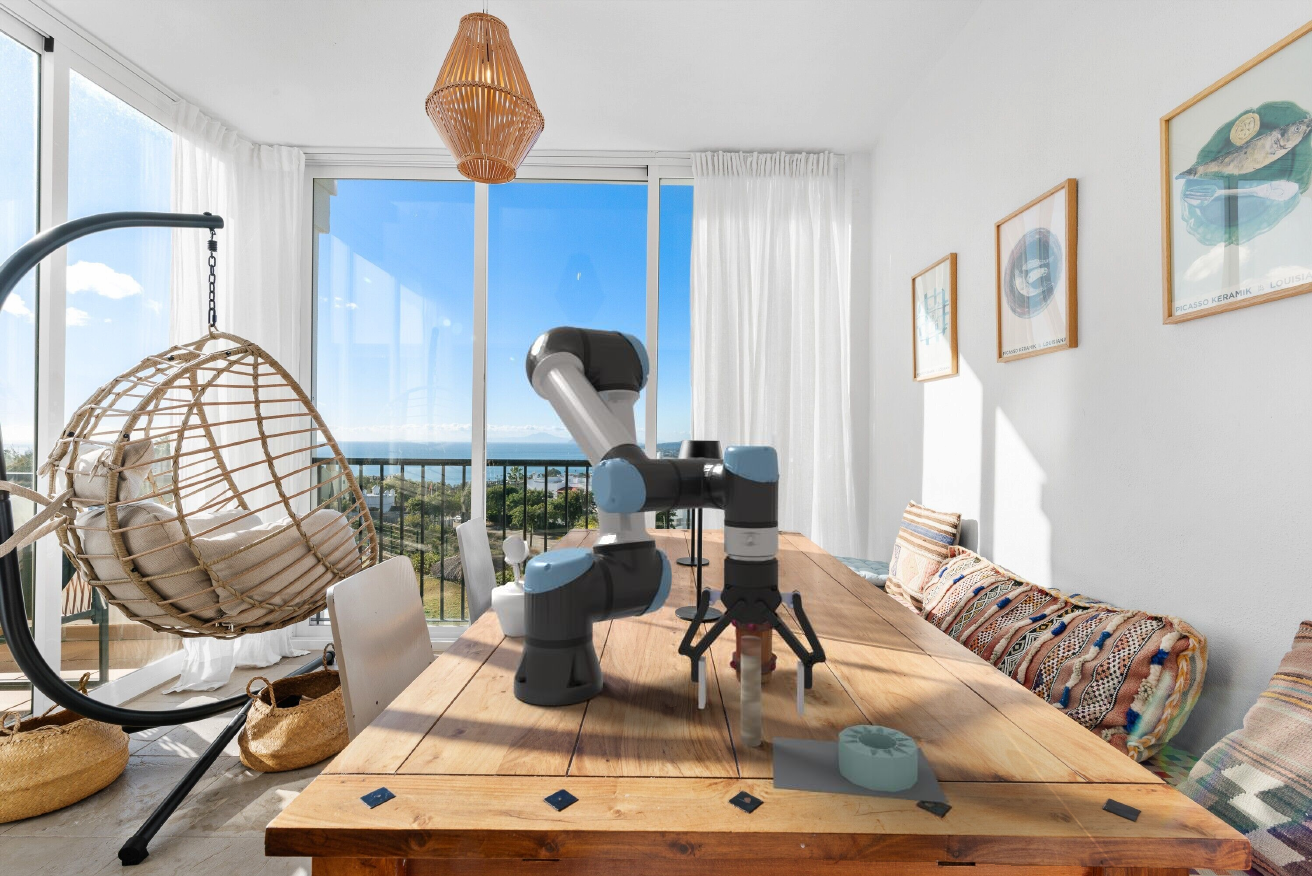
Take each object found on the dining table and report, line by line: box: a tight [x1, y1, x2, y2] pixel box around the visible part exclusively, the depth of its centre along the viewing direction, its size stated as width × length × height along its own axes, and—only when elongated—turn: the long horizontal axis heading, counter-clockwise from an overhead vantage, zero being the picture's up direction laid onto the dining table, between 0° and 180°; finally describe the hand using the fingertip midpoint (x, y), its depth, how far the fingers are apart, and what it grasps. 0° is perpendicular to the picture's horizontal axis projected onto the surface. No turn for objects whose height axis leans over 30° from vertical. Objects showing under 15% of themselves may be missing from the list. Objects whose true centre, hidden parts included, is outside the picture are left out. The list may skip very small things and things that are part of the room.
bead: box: [838, 724, 919, 792], centre depth 84 cm, size 9×9×4 cm
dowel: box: [740, 636, 762, 748], centre depth 93 cm, size 3×3×15 cm
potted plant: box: [491, 524, 541, 638], centre depth 148 cm, size 13×12×25 cm
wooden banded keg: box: [729, 620, 778, 684], centre depth 121 cm, size 15×8×15 cm, turn 168°
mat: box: [771, 736, 949, 804], centre depth 86 cm, size 20×14×1 cm
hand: (750, 708), depth 93 cm, fingers open, 13 cm apart
